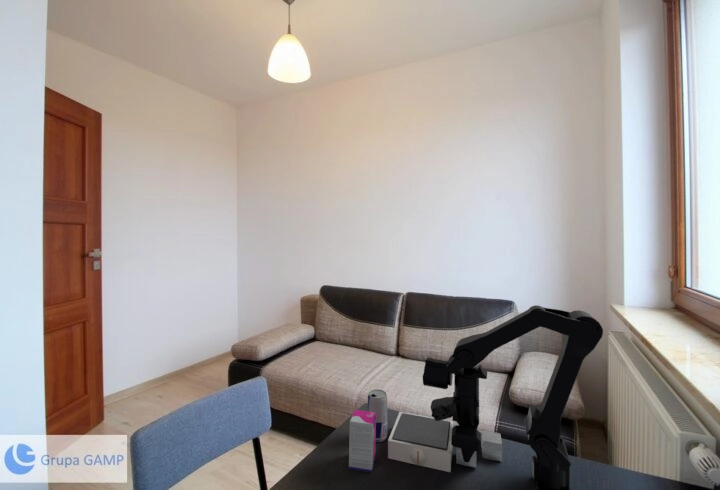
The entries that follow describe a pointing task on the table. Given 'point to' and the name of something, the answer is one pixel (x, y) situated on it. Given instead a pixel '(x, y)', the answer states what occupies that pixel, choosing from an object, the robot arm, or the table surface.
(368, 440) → the supplement box
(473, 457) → the block
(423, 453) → the base
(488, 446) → the block
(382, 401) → the energy drink
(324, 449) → the table surface
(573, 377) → the robot arm
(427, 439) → the pan
